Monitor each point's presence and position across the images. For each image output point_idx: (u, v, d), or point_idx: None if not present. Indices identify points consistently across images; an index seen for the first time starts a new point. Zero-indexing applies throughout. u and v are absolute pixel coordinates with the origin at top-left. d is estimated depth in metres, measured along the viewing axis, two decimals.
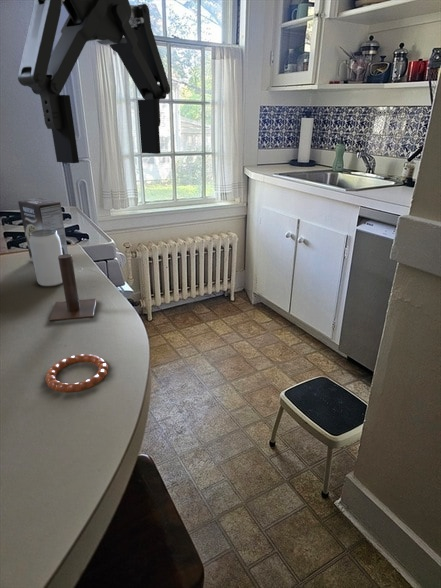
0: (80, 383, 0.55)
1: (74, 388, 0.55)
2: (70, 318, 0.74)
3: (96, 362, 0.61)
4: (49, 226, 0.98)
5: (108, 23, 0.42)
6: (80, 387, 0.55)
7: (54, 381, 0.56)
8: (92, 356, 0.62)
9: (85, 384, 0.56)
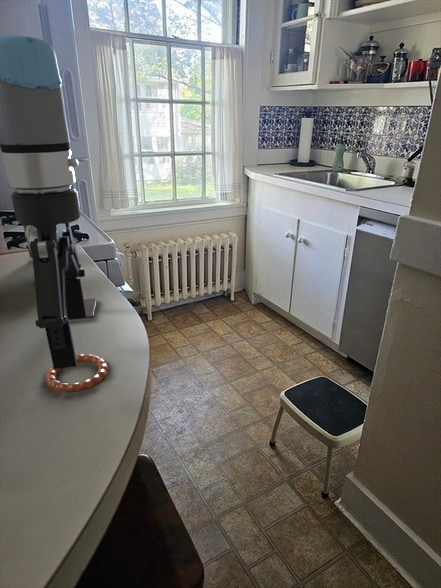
0: (80, 383, 0.55)
1: (74, 388, 0.55)
2: None
3: (96, 362, 0.61)
4: None
5: None
6: (80, 387, 0.55)
7: (54, 381, 0.56)
8: (92, 356, 0.62)
9: (85, 384, 0.56)
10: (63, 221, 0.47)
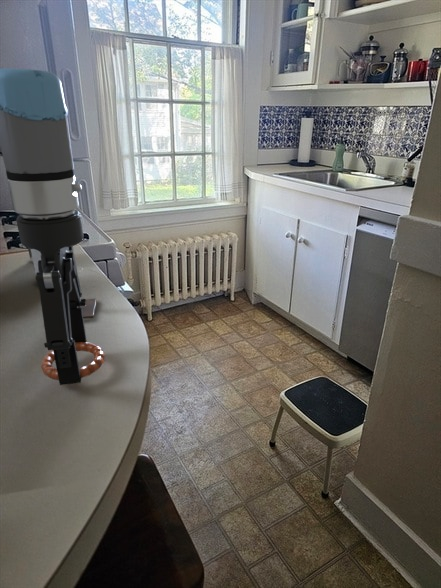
0: None
1: None
2: None
3: (93, 350, 0.60)
4: None
5: None
6: None
7: (50, 368, 0.55)
8: (88, 343, 0.61)
9: (81, 371, 0.55)
10: (67, 245, 0.48)
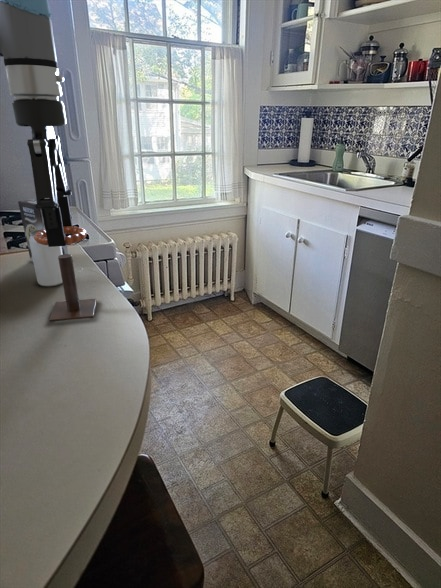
0: None
1: None
2: (70, 318, 0.74)
3: (77, 230, 0.72)
4: None
5: None
6: None
7: (41, 236, 0.68)
8: None
9: (66, 238, 0.67)
10: (52, 123, 0.61)
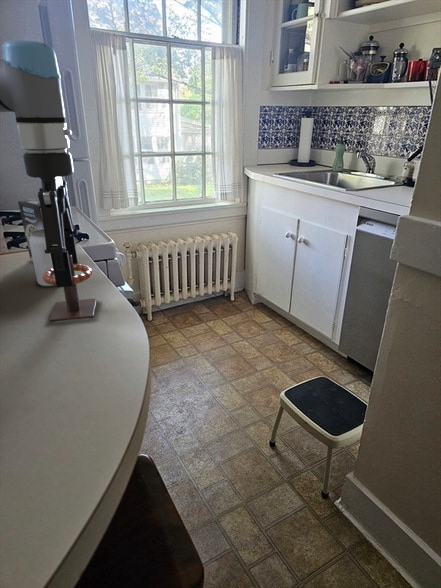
0: None
1: None
2: (70, 318, 0.74)
3: (83, 268, 0.76)
4: None
5: None
6: None
7: (49, 276, 0.72)
8: (79, 264, 0.77)
9: (73, 278, 0.71)
10: (60, 174, 0.64)
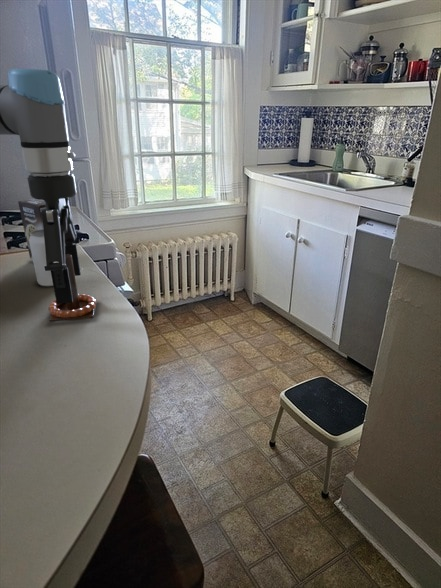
0: (75, 310, 0.74)
1: (70, 313, 0.73)
2: (70, 318, 0.74)
3: (87, 299, 0.79)
4: None
5: None
6: (75, 312, 0.74)
7: (55, 309, 0.74)
8: (84, 295, 0.80)
9: (78, 311, 0.74)
10: (64, 196, 0.66)
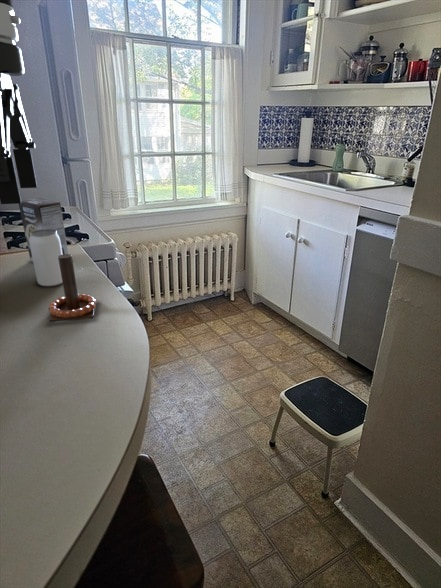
0: (75, 310, 0.74)
1: (70, 313, 0.73)
2: (70, 318, 0.74)
3: (87, 299, 0.79)
4: (49, 226, 0.98)
5: None
6: (75, 312, 0.74)
7: (55, 309, 0.74)
8: (84, 295, 0.80)
9: (78, 311, 0.74)
10: (7, 69, 0.54)
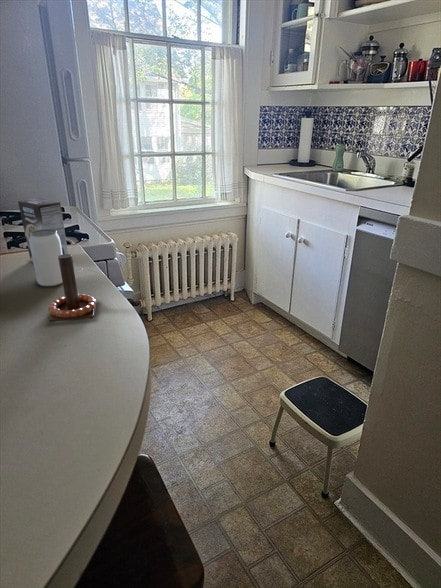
0: (75, 310, 0.74)
1: (70, 313, 0.73)
2: (70, 318, 0.74)
3: (87, 299, 0.79)
4: (49, 226, 0.98)
5: None
6: (75, 312, 0.74)
7: (55, 309, 0.74)
8: (84, 295, 0.80)
9: (78, 311, 0.74)
10: None
